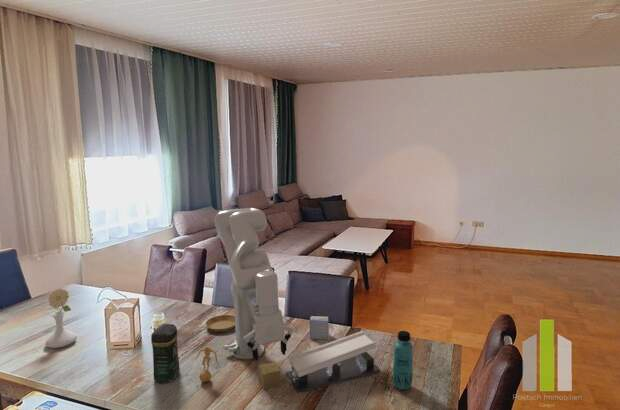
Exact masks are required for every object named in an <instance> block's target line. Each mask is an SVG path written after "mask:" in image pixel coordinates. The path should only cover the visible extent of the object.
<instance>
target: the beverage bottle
mask: <svg viewBox="0 0 620 410" xmlns="http://www.w3.org/2000/svg"><path fill="white" fill-rule="evenodd" d="M393 346H394V347H393V363H392V364H393V365H392V367H393V369H392V384H393V386H395V387H396V388H398V389H401V390H407V389H410V388H411V387H412V385H413V363H414V360H413V356H414V355H413V354H414V345H413V343H412V342H411V333H410V332H409V331H407V330H400V331H398V333H397V340H396V341H395V342H394V343H393Z"/></svg>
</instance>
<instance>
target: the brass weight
mask: <svg viewBox="0 0 620 410" xmlns="http://www.w3.org/2000/svg"><path fill="white" fill-rule="evenodd" d="M258 379H259V380H258V381H259V383H260V386H261V388H262V389H263V391H268V390H271V389H274V388H275V389H276V388H279V387H281V386H282V385H281V370H280V368H279V366H278V364H277V363H276V361H273V362H269V363H268V362H267V363H262V364H258Z"/></svg>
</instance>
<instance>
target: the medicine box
mask: <svg viewBox="0 0 620 410" xmlns="http://www.w3.org/2000/svg"><path fill="white" fill-rule="evenodd" d="M329 319H330V318H329V316H317V315H315V316H313V315H311V316H310V318H309V339H310V340H329V337H330V336H329V335H330V331H329V329H330V328H329V327H330V325H329Z"/></svg>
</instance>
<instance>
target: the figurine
mask: <svg viewBox="0 0 620 410" xmlns="http://www.w3.org/2000/svg"><path fill="white" fill-rule="evenodd" d="M201 352H204V356H203V359H202V363H201V364H202V365H203V369H202V370H201V372H200V374H199V380H200V381H201V382H203V383H207V382H209V381H210V380H211V378H212V373H211V371H210V369H209V368H210V363H211V362H210V361H211V359H212V358H211V356H210V355H211V353H213V354H214V355H215V356H214V358H215V360H214V361H215V362H216V363H218V357H217V352H216V351H214V350H213V349H212V347H211V346H205V347H204V348H203V349H200V350H199V352H198V353H197V355H196V357H195V360H197V359H198V357H199V355H200V354H201ZM206 366H207V368H206Z"/></svg>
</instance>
